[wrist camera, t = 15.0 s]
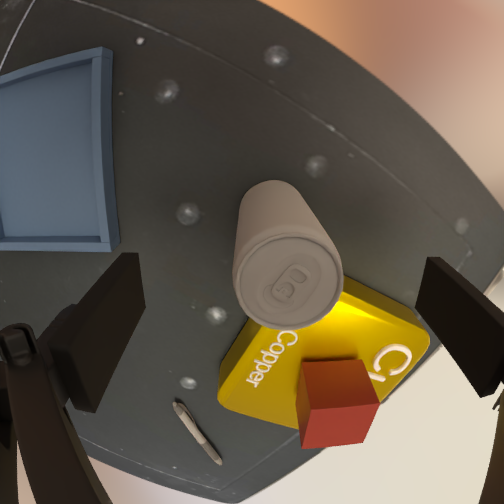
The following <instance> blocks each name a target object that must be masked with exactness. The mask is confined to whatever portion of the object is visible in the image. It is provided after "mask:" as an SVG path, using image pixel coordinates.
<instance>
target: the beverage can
mask: <svg viewBox="0 0 504 504" xmlns="http://www.w3.org/2000/svg"><path fill="white" fill-rule="evenodd" d="M232 272H233V286H234V289H235V293H236V296H237V299H238V302H239V304H240V306H241V307H242V309H243V310H244V312H245V313H246V314H247V315H248V316H249V317H250V318H251V319H253V320H254V321H255V322H257V323H258V324H261V325H263V326H265V327H267V328H271V329H276V330H282V331H283V330H297V329H301V328H305V327H308V326H310V325H312V324H314V323H316V322H318V321H320V320H321V319H322V318H324V317H325V316H326V315H327V314H328V313H330V311H331V310H332V309H333V307H334V306H335V305H336V303H337V302H338V300H339V297H340V295H341V292H342V289H343V281H344V275H343V269H342V264H341V258H340V255H339V253H338V251H337V250H336V248H335V246H334V244H333V242H332V241H331V239H330V238H329V236H328V235H327V233H326V232H325V230H324V229H323V227H322V226H321V224H320V223H319V221H318V220H317V218H316V217H315V215H314V214H313V212H312V211H311V209H310V208H309V206H308V205H307V203H306V202H305V200H304V199H303V198H302V196H301V195H300V193H299V192H298V191H297V190H296V189H295V188H294V187H293V186H292V185H290V184H288V183H286V182H283V181H279V180H269V181H265V182H262V183H259V184H257V185H255V186H253V187H252V188H251V189H250V190H248V191H247V192H246V193H245V195H244V197H243V199H242V200H241V204H240V209H239V217H238V226H237V235H236V243H235V252H234V261H233V270H232Z"/></svg>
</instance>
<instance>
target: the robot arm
mask: <svg viewBox="0 0 504 504" xmlns="http://www.w3.org/2000/svg"><path fill="white" fill-rule="evenodd" d="M145 308H146V306H145V300H144V293H143V286H142V279H141V271H140V263H139V255H138V253H121V255H120V256H119V257H118V258H117V259H116V260H115V261H114V262H113V263H112V265H111V266H110V267H109V268H108V269H107V270H106V271H105V272H104V274H103V275H102V276H101V277H100V278H99V279H98V280H97V282H96V283H95V284H94V285H93V286H92V287H91V289H90V290H89V291H88V292H87V293H86V294H85V296H84V297H83V298H82V299H81V300H80V302H79V303H78V304H77V305H75V304H71V305H69V306H68V307H66V308H65V309H63V310H62V311H61V312H60V313H59V314H58V315H57V316H56V317H55V320H53V321H52V322H51V323H50V325H49V327H47V328H46V329H45V331H44V332H43V333H42V334H41V336H40V337H39V338H38V339H37V340H36V338H35V335H34V332H33V330H32V328H31V326H30V325H27V324H25V323H17V324H12V325H9V326H7V327H5V328H3V329H2V330H1V331H0V355H1V358H2V360H3V361H0V504H19V502H18V486H17V441H18V445H19V449H20V453H21V457H22V460H23V464H24V467H25V471H26V474H27V477H28V480H29V484H30V486H31V490H32V492H33V495H34V498H35V501H36V504H113V503H112V502H111V500H110V498H109V497H108V494H107V493H106V491H105V489H104V488H103V486H102V484H101V482H100V480H99V478H98V476H97V474H96V472H95V470H94V469H93V467H92V465H91V463H90V461H89V459H88V456H87V454H86V452H85V450H84V448H83V446H82V444H81V441H80V439H79V437H78V435H77V432H76V430H75V428H74V425H73V423H72V421H71V418H70V416H69V413H68V411H67V409H66V407H65V404H66V402H67V400H68V399H69V397H70V400H71V402H72V404H73V406H74V408H75V409H77V410H82V411H86V412H91V413H95V412H96V410H97V408H98V406H99V403H100V401H101V399H102V397H103V395H104V392H105V390H106V388H107V386H108V384H109V381H110V379H111V377H112V375H113V373H114V371H115V369H116V367H117V364H118V362H119V360H120V358H121V356H122V354H123V352H124V350H125V348H126V346H127V344H128V342H129V340H130V338H131V336H132V334H133V332H134V330H135V328H136V326H137V324H138V322H139V320H140V318H141V316H142V314H143V312H144V310H145ZM415 309H416V310H417V311H418V312H419V314H420V315H421V316H422V317H423V319H424V320H425V321H426V323H427V324H428V325H429V327H430V328H431V329H432V331H433V332H434V333H435V335H436V336H437V337H438V339H439V340H440V341H441V343H442V344H443V345H444V347H445V348H446V349H447V351H448V352H449V353H450V355H451V356H452V358H453V359H454V360H455V361H456V363H457V365H458V366H459V367H460V369H461V370H462V372H463V373H464V374H465V376H466V378H467V379H468V380H469V382H470V383H471V385H472V386H473V388H474V389H475V391H476V392H477V394H478V395H479V397H480V398H482V397H485V396H488V395H492V394H494V393H495V391H496V389H497V387H498V385H499V384H500V382H502V383H503V384H504V312H502V311H501V310H500V309H499V308H498V307H496V305H495V304H493V303H492V302H491V301H490V300H489V299H488V298H487V297H486V296H485V295H484V294H482V293H481V292H480V291H479V290H478V289H477V288H476V287H475V286H473V285H472V284H471V283H470V282H469V281H468V280H467V279H465V278H464V277H463V276H462V275H461V274H460V273H458V272H457V271H456V270H455V269H454V268H452V267H451V266H450V265H449V264H448V263H446V262H445V261H444V260H443V259H442V258H440V257H427V260H426V265H425V269H424V274H423V278H422V282H421V286H420V290H419V294H418V298H417V301H416V305H415ZM498 405H500V407H499V409H498V411H499V414H498V421H497V428H496V434H495V439H494V445H493V449H492V454H491V459H490V464H489V468H488V472H487V476H486V479H485V483H484V487H483V490H482V494H481V497H480V500H479V504H504V389H503V391H502V393H501V394H500V396H499V398H498V399H497V401H496V403H495V404H494V406H493V408H492V409H493V410H495V408H496V407H497V406H498Z"/></svg>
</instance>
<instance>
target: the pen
mask: <svg viewBox="0 0 504 504" xmlns="http://www.w3.org/2000/svg"><path fill="white" fill-rule="evenodd" d="M173 408H174V410H175V412H176V413H177V415H178V416H179V417H180V419H181V420H182V421H183V423H184V424H185V425H186V427H187V428H188V429H189V431H190V432H191V433H192V434H193V436H194V437H195V438H196V439H197V441H198V442H199V444H200V445H201V446H202V447H203V449H204V450H205V451H206V452H207V454H208V455H209V456H210V457H211V458H212V460H214V461H215V462H216V463H217V464H219V465H222V460H221V458H220V457H219V455H218V454H217V453H216V451H215V450H214V449H213V448H212V446H211V445H210V444H209V442H208V441H207V440H206V439H205V437H204V436H203V435H202V434H201V432H200V431H199V430H198V428H197V427H196V424H195V421H194V419H193V417H192V416H191V414H190V413H189V411H188V410H187V408H186V407H185V406H184V405H183V404H181V403H176V402H173ZM185 411H186V412H187V413H188V414H189V416H190V417H191V419H192V420H193V422H192V420H191V419H190V418H189V416H188V415H187V413H186V412H185Z"/></svg>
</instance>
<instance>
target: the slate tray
mask: <svg viewBox="0 0 504 504" xmlns="http://www.w3.org/2000/svg"><path fill="white" fill-rule="evenodd" d="M112 65H113V51H112V50H109V49H107V48H105V47H97V48H92V49H88V50H83V51H79V52H75V53H71V54H67V55H63V56H60V57H56V58H53V59H49V60H46V61H43V62H39V63H36V64H33V65H30V66H27V67H24V68H21V69H18V70H16V71H13V72H10V73H7V74H5V75H2V76H0V250H20V251H75V252H112V251H113V250H114V249H115V248H116V247H117V246H118V244H119V243H120V235H119V227H118V218H117V208H116V196H115V184H114V169H113V149H112Z"/></svg>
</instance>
